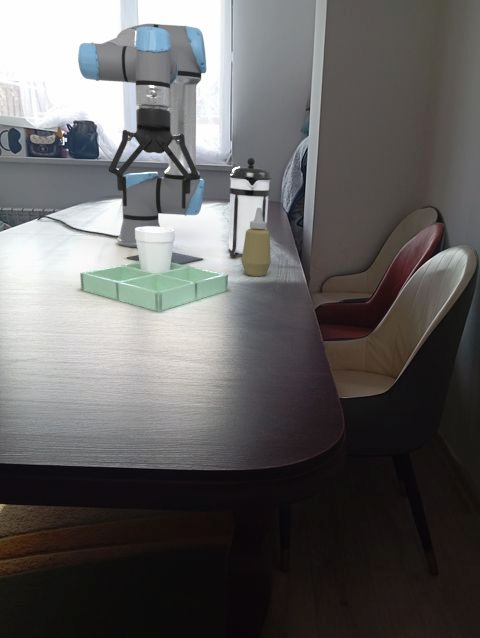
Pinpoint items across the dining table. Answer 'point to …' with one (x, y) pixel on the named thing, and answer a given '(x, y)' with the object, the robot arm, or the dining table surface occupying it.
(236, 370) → the dining table surface
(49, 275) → the dining table surface
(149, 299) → the divided sorting tray
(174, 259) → the mat
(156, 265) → the foam cup
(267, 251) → the squeeze bottle
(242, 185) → the coffee press
